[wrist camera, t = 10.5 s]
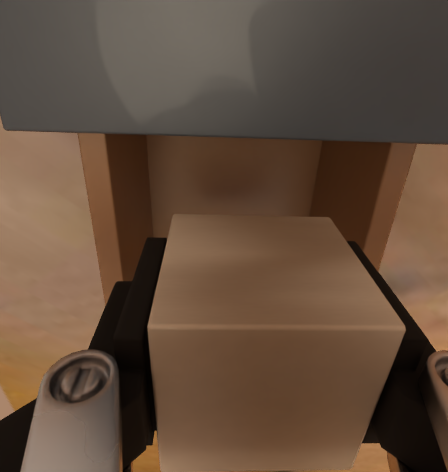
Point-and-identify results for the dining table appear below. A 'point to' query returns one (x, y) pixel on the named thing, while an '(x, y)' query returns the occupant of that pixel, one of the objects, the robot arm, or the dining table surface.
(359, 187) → the drawer
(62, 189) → the dining table surface
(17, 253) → the dining table surface
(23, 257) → the dining table surface
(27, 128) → the cabinet
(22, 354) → the dining table surface
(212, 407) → the block
